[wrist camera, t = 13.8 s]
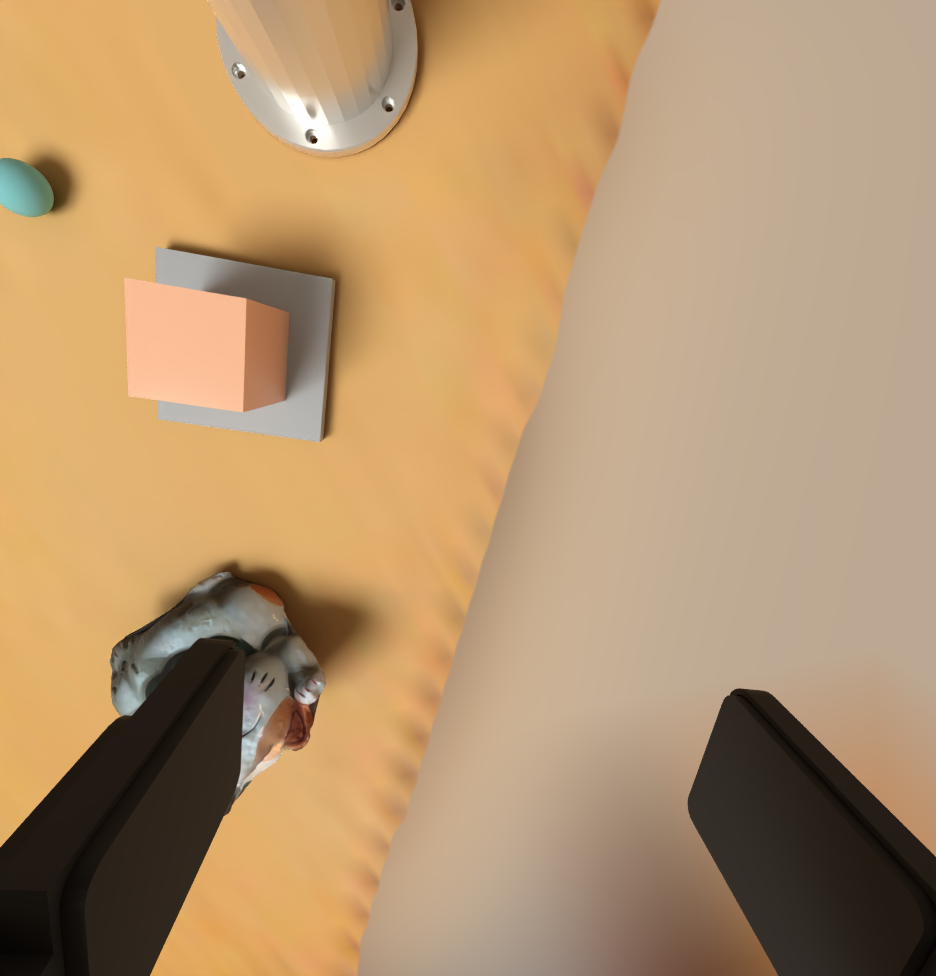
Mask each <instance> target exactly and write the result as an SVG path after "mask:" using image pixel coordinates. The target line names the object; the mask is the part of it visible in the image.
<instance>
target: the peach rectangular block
mask: <svg viewBox="0 0 936 976" xmlns="http://www.w3.org/2000/svg"><path fill="white" fill-rule="evenodd" d="M124 284H125V312H126V340H127V368H128V396H132V397H139V398H146V399H153V400H160V401H167V402H174V403H181V404H188V405H195V406H202V407H209V408H216V409H222V410H229V411H236V412H247V411H250V410H254V409H257V408H261V407H265V406H268V405H272V404H275V403H279V402H283V401H285V396H286V377H287V357H288V338H289V319H290V313H289V312H286V311H283V310H280V309H277V308H274V307H271V306H268V305H265V304H262V303H259V302H256V301H253V300H249V299H246V298H241V297H235V296H229V295H223V294H217V293H211V292H205V291H199V290H193V289H188V288H182V287H176V286H170V285H164V284H158V283H152V282H146V281H141V280H135V279H129V278H124Z"/></svg>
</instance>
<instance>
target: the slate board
mask: <svg viewBox="0 0 936 976" xmlns="http://www.w3.org/2000/svg"><path fill="white" fill-rule="evenodd" d="M155 268H156V283H158V284H164V285H170V286H176V287H182V288H188V289H193V290H199V291H205V292H211V293H217V294H223V295H229V296H235V297H241V298H246V299H249V300H253V301H256V302H259V303H262V304H265V305H268V306H271V307H274V308H277V309H280V310H283V311H286V312H289V313H290V319H289V338H288V357H287V377H286V396H285V401H283V402H279V403H275V404H272V405H268V406H265V407H261V408H257V409H254V410H250V411H247V412H236V411H229V410H222V409H216V408H209V407H202V406H195V405H188V404H181V403H174V402H167V401H160V400H158V419H160V420H167V421H174V422H181V423H188V424H195V425H202V426H209V427H217V428H224V429H231V430H238V431H245V432H252V433H259V434H266V435H273V436H281V437H288V438H295V439H302V440H309V441H316V442H321V441H322V440H323V438H324V426H325V413H326V400H327V387H328V374H329V361H330V348H331V335H332V322H333V309H334V296H335V283H336V281H335V280H333V279H332V278H327V277H321V276H315V275H310V274H304V273H299V272H293V271H288V270H282V269H276V268H271V267H265V266H260V265H254V264H249V263H243V262H237V261H232V260H226V259H221V258H215V257H210V256H204V255H199V254H193V253H187V252H182V251H176V250H171V249H165V248H160V247H155Z"/></svg>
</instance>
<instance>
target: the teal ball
mask: <svg viewBox="0 0 936 976" xmlns="http://www.w3.org/2000/svg"><path fill="white" fill-rule="evenodd" d="M53 203H54V195H53V191H52V188H51V186H50V184H49V183H48V181H47V180H46V178H45V177H44V176H43V175H42V174H41V173H40V172H39V171H38V170H36V169H35V168H34V167H32V166H31V165H29V164H27V163H25V162H22V161H20V160H16V159H11V158H2V159H0V204H1V205H2V206H4V207H5V208H7V209H8V210H10V211H12V212H14V213H16V214H19V215H22V216H27V217H38V216H42V215H44V214H46V213H47V212H49V211H50V209H51V208H52V206H53Z"/></svg>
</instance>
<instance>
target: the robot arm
mask: <svg viewBox="0 0 936 976" xmlns="http://www.w3.org/2000/svg"><path fill="white" fill-rule="evenodd" d="M206 1H207V3H208V4H209V6H210V8H211V9H212V11H213V12H214V14H215V23H216V37H217V41H218V46H219V50H220V55H221V59H222V62H223V64H224V67H225V70H226V72H227V75H228V77H229V80H230V82H231V84H232V85H233V87H234V89H235V91H236V92H237V94H238V96H239V97H240V99H241V101H242V102H243V104H244V105H245V106H246V108H247V109H248V110H249V112H250V113H251V114H252V116H253V117H254V118H255V119H256V120H257V121H258V122H259V123H260V124H261V125H262V126H263V127H264V128H265V129H266V130H267V131H268V132H269V133H270V134H272V135H273V136H274V137H276V138H277V139H278V140H280V141H281V142H282V143H284V144H286V145H288V146H290V147H292V148H294V149H296V150H298V151H300V152H303V153H307V154H311V155H315V156H318V157H342V156H348V155H353V154H356V153H358V152H361V151H363V150H365V149H368V148H370V147H371V146H373V145H374V144H376V143H377V142H378V141H380V140H381V139H383V138H384V137H385V136H386V135H387V134H388V133H389V132H390V130H391V129H392V128H393V127H394V126H395V125H396V124H397V122H398V121H399V119H400V117H401V116H402V114H403V112H404V111H405V109H406V107H407V104H408V102H409V99H410V96H411V94H412V91H413V88H414V83H415V78H416V72H417V59H418V43H417V29H416V23H415V18H414V13H413V8H412V4H411V1H410V0H206ZM397 9H401V11H396V10H397ZM242 75H245V77H243V78H242V79H241V76H242ZM388 107H391V108H392V109H393V111H391V112H387V111H386V109H387V108H388ZM313 139H318V142H316V143H315V144H312V140H313ZM244 679H245V652H244V651H243V650H236V644H235V642H234V641H231V640H220V639H209V638H199V639H198V640H196V641H195V642H194V643H193V645H192V646H191V647H190V648H189V649H188V651H187V652H186V653H185V654H184V655H183V656H182V658H181V659H180V660H179V661H178V662H177V663H176V665H175V666H174V667H173V668H172V669H171V670H170V672H169V673H168V674H167V675H166V676H165V677H164V679H163V680H162V681H161V682H160V683H159V685H158V686H157V687H156V688H155V689H154V690H153V692H152V693H151V694H150V695H149V696H148V697H147V699H146V700H145V701H144V702H143V703H142V704H141V706H140V707H139V708H138V709H137V710H136V711H135V713H134V714H133V715H132V716H129V715H124V716H121V717H119V718H117V719H116V720H115V721H114V722H113V723H112V724H111V725H109V726H108V727H107V729H106V730H105V731H104V732H103V733H102V734H101V735H100V736H99V738H98V739H97V740H96V741H95V742H94V743H93V744H92V745H91V746H90V748H89V749H88V750H87V751H86V752H85V753H84V754H83V755H82V757H81V758H80V759H79V760H78V761H77V762H76V763H75V764H74V766H73V767H72V768H71V769H70V770H69V771H68V772H67V773H66V775H65V776H64V777H63V778H62V779H61V780H60V781H59V782H58V783H57V785H56V786H55V787H54V788H53V789H52V790H51V791H50V792H49V794H48V795H47V796H46V797H45V798H44V799H43V800H42V801H41V803H40V804H39V805H38V806H37V807H36V808H35V809H34V810H33V812H32V813H31V814H30V815H29V816H28V817H27V818H26V819H25V820H24V822H23V823H22V824H21V825H20V826H19V827H18V828H17V829H16V831H15V832H14V833H13V834H12V835H11V836H10V837H9V838H8V840H7V841H6V842H5V843H4V844H3V845H2V846H1V847H0V976H150V974H151V972H152V970H153V968H154V965H155V963H156V961H157V959H158V957H159V955H160V952H161V950H162V948H163V946H164V944H165V942H166V939H167V937H168V935H169V933H170V931H171V929H172V927H173V924H174V922H175V920H176V918H177V916H178V914H179V911H180V909H181V907H182V905H183V903H184V901H185V898H186V896H187V894H188V892H189V890H190V888H191V886H192V883H193V881H194V879H195V877H196V875H197V873H198V870H199V868H200V866H201V864H202V862H203V860H204V857H205V855H206V853H207V851H208V849H209V847H210V845H211V842H212V840H213V838H214V836H215V834H216V832H217V829H218V827H219V825H220V823H221V821H222V819H223V816H224V814H225V812H226V810H227V808H228V806H229V804H230V801H231V799H232V797H233V795H234V792H235V790H236V787H237V784H238V781H239V777H240V771H241V752H242V728H243V703H244ZM688 810H689V814H690V817H691V820H692V821H693V824H694V825H695V827H696V829H697V831H698V833H699V834H700V836H701V838H702V840H703V841H704V843H705V845H706V847H707V849H708V850H709V852H710V854H711V856H712V858H713V859H714V861H715V863H716V864H717V866H718V868H719V870H720V872H721V873H722V875H723V877H724V879H725V881H726V883H727V884H728V886H729V888H730V889H731V891H732V893H733V895H734V897H735V899H736V901H737V902H738V904H739V906H740V908H741V909H742V911H743V913H744V915H745V917H746V918H747V920H748V922H749V924H750V926H751V927H752V929H753V931H754V933H755V934H756V936H757V938H758V940H759V942H760V943H761V945H762V947H763V949H764V950H765V952H766V954H767V956H768V958H769V960H770V961H771V963H772V965H773V967H774V968H775V970H776V972H777V974H778V976H936V857H935V856H934V855H933V854H932V853H931V852H930V851H929V850H928V849H927V848H926V847H925V846H924V845H923V844H922V843H921V842H920V841H919V840H918V839H917V838H916V837H915V836H914V835H913V834H912V833H911V832H910V831H909V830H908V829H907V828H906V827H905V826H904V825H903V824H902V823H901V822H900V821H899V820H898V819H897V818H896V817H895V816H894V815H893V814H892V813H891V812H890V811H889V810H888V809H887V808H886V807H885V806H884V805H883V804H882V803H881V802H880V801H879V800H878V799H877V798H876V797H875V796H874V795H873V794H872V793H871V792H870V791H869V790H868V789H867V788H866V787H865V786H864V785H863V784H861V782H859V780H857V779H856V777H855V776H854V775H852V774H851V772H850V771H849V770H848V769H847V768H845V767H844V766H843V765H842V764H841V763H840V762H839V761H838V760H837V759H836V758H835V757H834V756H833V755H832V754H831V753H830V752H829V751H828V750H827V749H826V748H825V747H824V746H823V745H822V744H821V743H820V742H819V741H818V740H817V739H816V738H815V737H814V736H813V735H812V734H811V733H810V732H809V731H808V730H807V729H806V728H805V727H804V726H803V725H802V724H801V723H800V722H799V721H798V720H797V719H796V718H795V717H794V716H793V715H792V714H791V713H790V712H789V711H788V710H787V709H786V708H785V707H784V706H783V705H782V704H781V703H780V702H779V701H778V700H777V699H776V698H775V697H774V696H773V695H771V694H770V693H769V692H766V691H760V690H749V689H735V690H733V691H732V692H731V694H730V696H727V697H725V699H724V701H723V703H722V705H721V708H720V711H719V714H718V717H717V720H716V722H715V725H714V728H713V730H712V733H711V736H710V739H709V742H708V744H707V747H706V750H705V753H704V755H703V758H702V761H701V764H700V767H699V769H698V772H697V775H696V778H695V781H694V783H693V786H692V789H691V792H690V794H689V797H688Z"/></svg>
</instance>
